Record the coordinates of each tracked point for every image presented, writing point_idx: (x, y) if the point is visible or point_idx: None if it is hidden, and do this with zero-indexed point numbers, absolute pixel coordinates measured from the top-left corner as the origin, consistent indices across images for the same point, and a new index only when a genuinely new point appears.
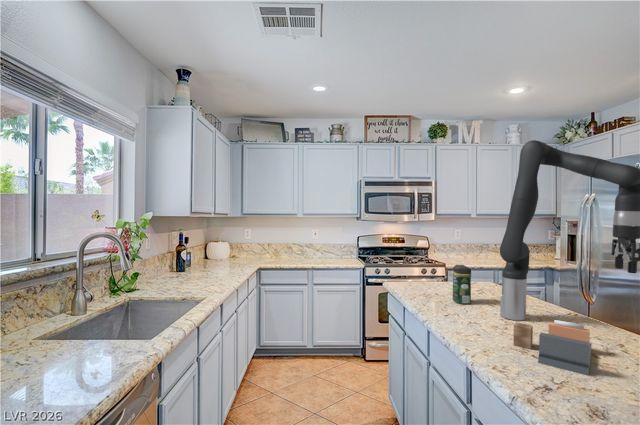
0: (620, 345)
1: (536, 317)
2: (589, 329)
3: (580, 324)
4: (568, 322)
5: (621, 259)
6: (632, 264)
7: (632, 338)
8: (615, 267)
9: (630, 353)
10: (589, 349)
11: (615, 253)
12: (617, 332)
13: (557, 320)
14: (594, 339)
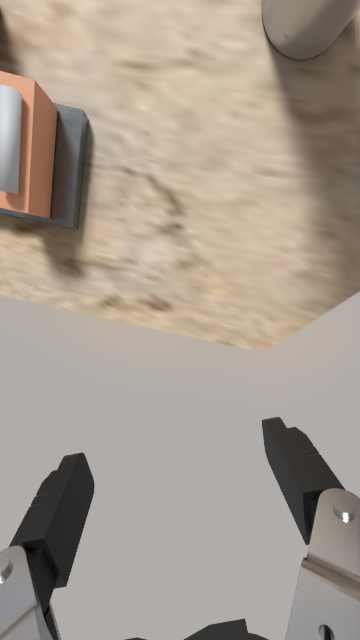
0: (156, 304)
1: (339, 106)
2: (27, 212)
3: (1, 179)
4: (2, 138)
5: (299, 522)
6: (20, 538)
7: (233, 343)
8: (266, 420)
9: (104, 311)
10: (9, 211)
11: (350, 552)
12: (271, 321)
13: (3, 97)
14: (173, 253)
